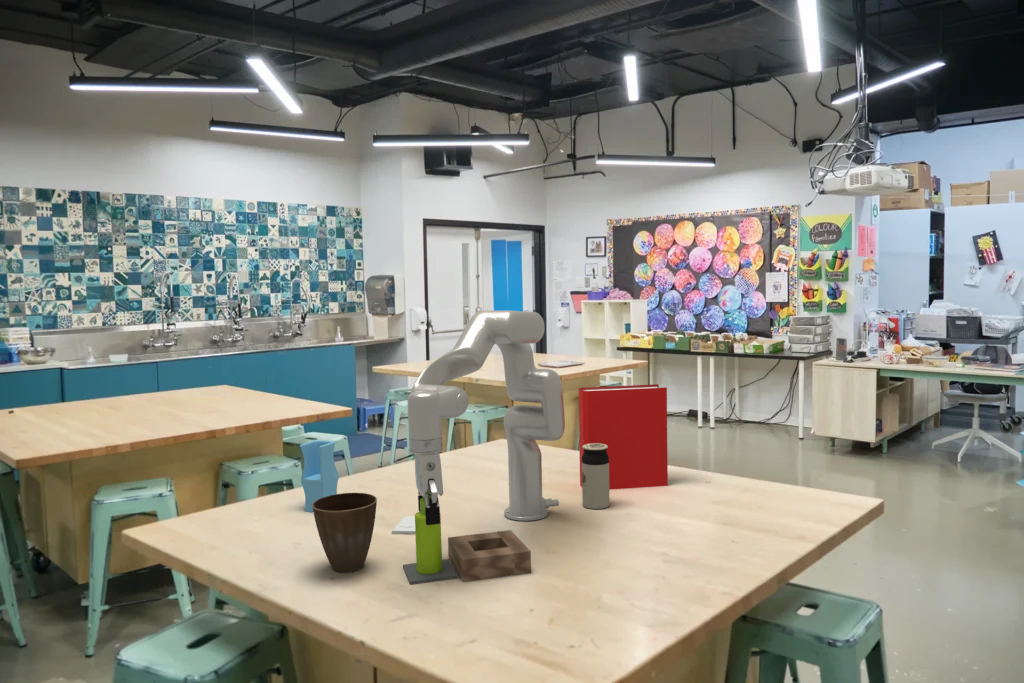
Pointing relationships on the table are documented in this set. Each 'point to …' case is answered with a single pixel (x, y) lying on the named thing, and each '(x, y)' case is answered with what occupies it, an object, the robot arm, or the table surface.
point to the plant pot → (345, 528)
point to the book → (627, 432)
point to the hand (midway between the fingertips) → (429, 517)
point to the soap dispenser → (427, 543)
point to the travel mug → (595, 476)
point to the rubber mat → (417, 577)
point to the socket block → (488, 555)
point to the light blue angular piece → (318, 471)
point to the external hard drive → (405, 526)
